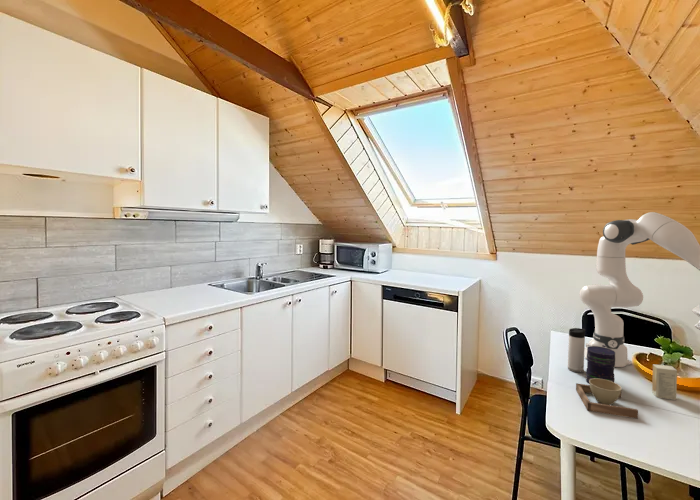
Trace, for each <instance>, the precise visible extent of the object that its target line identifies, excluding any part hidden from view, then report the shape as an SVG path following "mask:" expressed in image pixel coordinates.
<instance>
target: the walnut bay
mask: <svg viewBox="0 0 700 500" xmlns="http://www.w3.org/2000/svg"><path fill="white" fill-rule="evenodd" d="M575 391H576V392H577V395H578V396H579V399H580V400H581V402H582V403H583V405H584V407H585V409H586V411H588V412H593V413H600V414H607V415H611V416H612V415H613V416H618V417H625V418H632V419H637V420H638V418H639V409H637V408H633V407H632V408H631V407H624V406H618V405H613V404H612V405H606V404H601V403H599V402H592V401H590V400H589V398H588V395H586V393H587V394H592V391H591V388H590V384H583V383H579V382H578V383H577V382H576V383H575ZM619 398H620V399H621V398H622V392H621V393H620V395H619V397H618V399H619Z"/></svg>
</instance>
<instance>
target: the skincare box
mask: <svg viewBox="0 0 700 500" xmlns="http://www.w3.org/2000/svg"><path fill="white" fill-rule="evenodd" d="M677 375H678V370H677V369H676V368H675V367H673V366H672V365H666V364H652V379H651V380H652V381H651V382H652V383H651V386H652V388H651V391H652V394H653V395H654V397H656V398H659V399H666V400H673V401H674V400H675V401H676V400H677V388H678V387H677V386H678V385H677V384H678V383H677V381H678V379H677V378H678V376H677Z"/></svg>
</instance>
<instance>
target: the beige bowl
mask: <svg viewBox="0 0 700 500" xmlns="http://www.w3.org/2000/svg"><path fill="white" fill-rule="evenodd" d="M588 385H590V388H591V391H592V393H591V394H592V396H593V397H594V399H595V401H597V403H599V404H606V405H612V406H613V404H614V403H615V402H616V401H617V400H618V399H619V395H620V393H621V394H622V386H621V385H619V384H618V383H617V382H615V381H614V382H612V381H609V380H605V379H598V378H594V379H590V380H589V384H588Z"/></svg>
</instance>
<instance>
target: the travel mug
mask: <svg viewBox="0 0 700 500" xmlns="http://www.w3.org/2000/svg"><path fill="white" fill-rule="evenodd" d="M586 332H587V329H585V328H579V327H573V328H569V329H568V346H567V347H568V349H567V351H568V352H567V354H568V355H567V369H568V370H569V371H571V372H573V373H584V370H585V369H584V367H585V356H584V349H585V348H586V336H585V335H586Z"/></svg>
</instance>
